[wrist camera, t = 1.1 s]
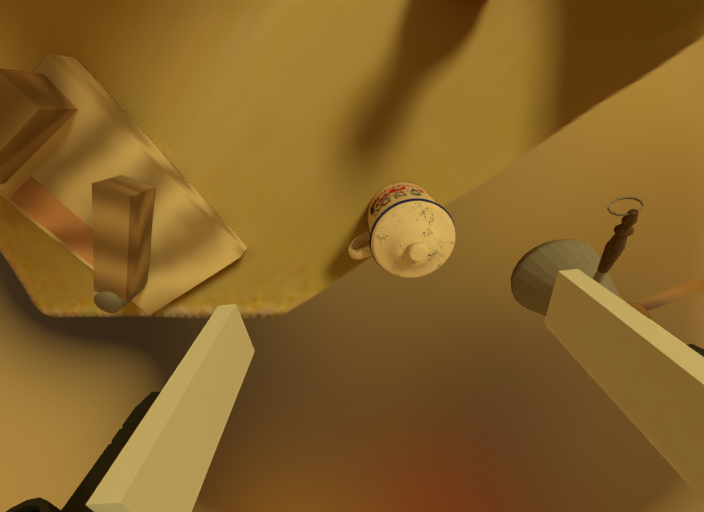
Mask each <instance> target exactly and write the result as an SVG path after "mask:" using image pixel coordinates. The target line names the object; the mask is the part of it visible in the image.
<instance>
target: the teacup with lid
mask: <svg viewBox="0 0 704 512" xmlns="http://www.w3.org/2000/svg"><path fill="white" fill-rule="evenodd" d="M368 224H369V231H367V232H365V233H363V234H361V235H359V236H358V237H356V238H355V239H354V240H353V241H352V242H351V243H350V245H349V247H348V253H349V255H350V257H351V258H353V259H364V258H367V257H370V256H373V258H374V259H375V261H376V262H377V264H378V265H379V266H380V267H381V268H383V269H384V270H385V271H387V272H388V273H390V274H393V275H395V276H399V277H404V278H415V277H420V276H424V275H427V274H429V273H431V272H433V271H435V270H436V269H437V268H439V267H440V266H441V265H442V264H443V263H444V262H445V261H446V260H447V259H448V257H449V255H450V254H451V252H452V250H453V247H454V244H455V226H454V222H453V220H452V218H451V216H450V215H449V213H448V212H447V211H446V210H445V209H444V208H443V207H442V206H441V205H439V204H437V203H436V202H435V201H434V200H433V199H432V198H431V197H430V196H429V195H428V194H427V193H426V192H425V191H424V190H423V189H422V188H421V187H419V186H417V185H415V184H412V183H406V182H400V183H394V184H391V185H388V186H386V187H385V188H383V189H382V190H380V191H379V192H378V193H377V194H376V195H375V197H374V198H373V199H372V201H371V203H370V206H369V209H368ZM368 241H369V242H370V245H369V246H366V247H364V248H361V249H358V248H359V247H360V246H361V245H363V244H364V243H366V242H368Z"/></svg>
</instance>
